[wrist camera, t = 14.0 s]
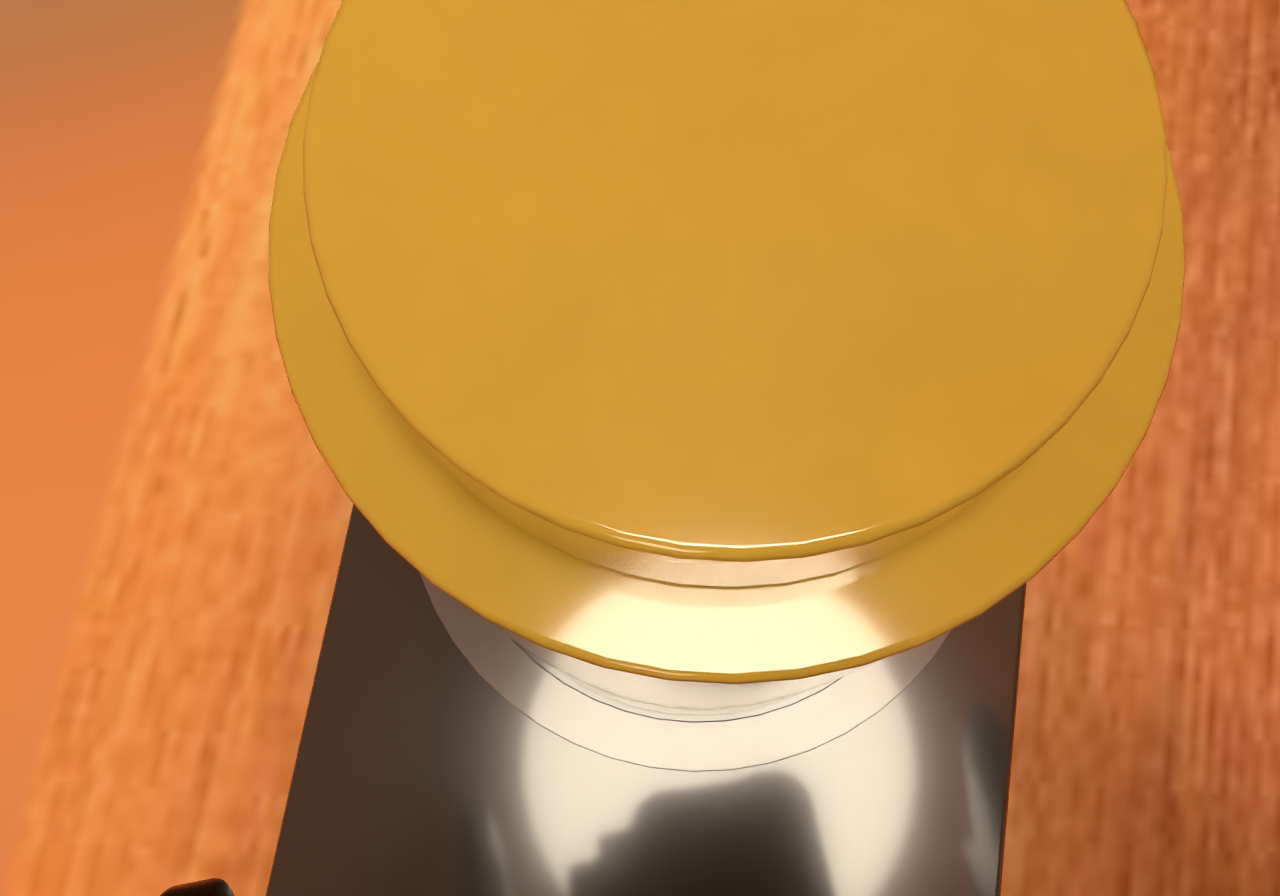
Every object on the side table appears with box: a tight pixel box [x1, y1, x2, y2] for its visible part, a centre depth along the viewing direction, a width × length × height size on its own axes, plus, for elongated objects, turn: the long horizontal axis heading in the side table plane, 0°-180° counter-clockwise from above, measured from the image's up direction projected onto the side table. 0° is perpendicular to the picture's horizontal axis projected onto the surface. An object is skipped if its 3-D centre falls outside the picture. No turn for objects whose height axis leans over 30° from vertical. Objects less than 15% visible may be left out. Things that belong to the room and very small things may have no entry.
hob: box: [266, 503, 1027, 896], centre depth 16 cm, size 14×9×1 cm, turn 171°
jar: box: [269, 0, 1185, 715], centre depth 11 cm, size 6×6×9 cm
